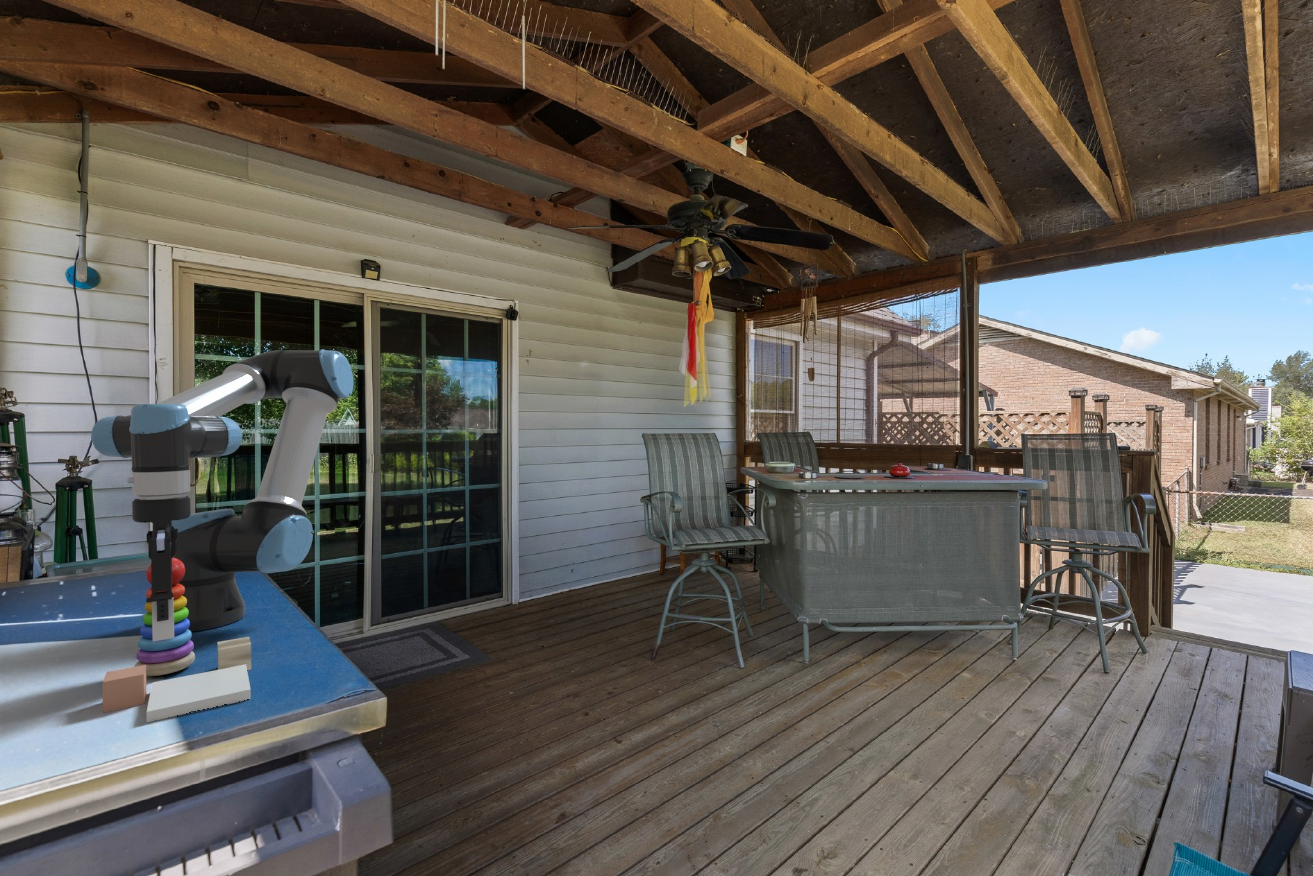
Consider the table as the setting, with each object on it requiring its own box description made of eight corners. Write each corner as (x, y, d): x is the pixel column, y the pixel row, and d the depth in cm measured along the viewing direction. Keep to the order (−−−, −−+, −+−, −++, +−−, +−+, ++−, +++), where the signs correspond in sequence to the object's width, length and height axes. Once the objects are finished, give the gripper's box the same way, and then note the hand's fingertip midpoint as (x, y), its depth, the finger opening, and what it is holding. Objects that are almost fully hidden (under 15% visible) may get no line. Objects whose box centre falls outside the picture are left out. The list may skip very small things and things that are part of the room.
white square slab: (152, 692, 93) (152, 682, 93) (246, 673, 100) (246, 664, 100) (146, 722, 84) (146, 711, 84) (250, 699, 91) (250, 689, 91)
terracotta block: (107, 701, 90) (106, 671, 90) (146, 693, 93) (146, 664, 93) (103, 713, 87) (102, 682, 87) (144, 704, 89) (143, 674, 89)
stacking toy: (127, 681, 96) (124, 565, 96) (142, 663, 103) (139, 555, 103) (189, 672, 100) (187, 559, 99) (199, 655, 107) (197, 550, 106)
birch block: (217, 668, 103) (217, 642, 103) (249, 662, 106) (249, 636, 105) (218, 677, 99) (218, 649, 99) (251, 670, 102) (250, 644, 102)
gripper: (137, 492, 106) (140, 621, 107) (125, 504, 90) (129, 656, 91) (191, 489, 111) (193, 613, 111) (188, 500, 95) (192, 645, 96)
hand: (164, 632), depth 101 cm, fingers closed on stacking toy, 7 cm apart
